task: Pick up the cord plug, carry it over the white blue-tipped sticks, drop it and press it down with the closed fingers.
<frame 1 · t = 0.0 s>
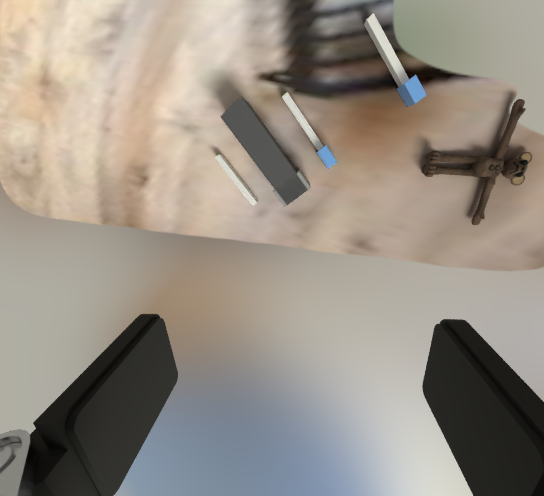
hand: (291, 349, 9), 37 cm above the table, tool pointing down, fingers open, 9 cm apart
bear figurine: (469, 165, 40), on the table
cord plug: (269, 153, 42), on the table
white blue-tipped sticks: (304, 124, 39), on the table
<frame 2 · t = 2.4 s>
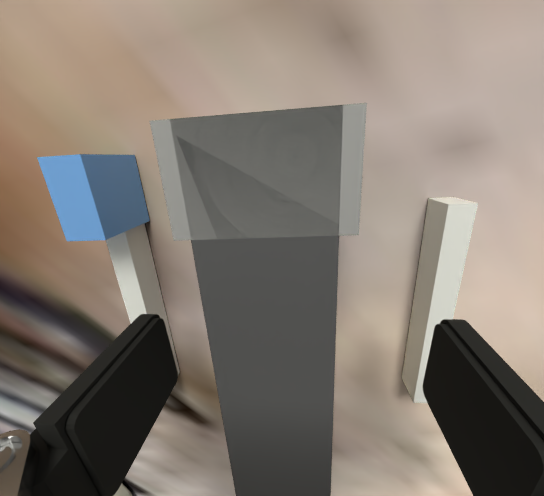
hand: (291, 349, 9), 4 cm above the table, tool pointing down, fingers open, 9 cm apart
cord plug: (281, 300, 13), on the table
white blue-tipped sticks: (154, 301, 14), on the table
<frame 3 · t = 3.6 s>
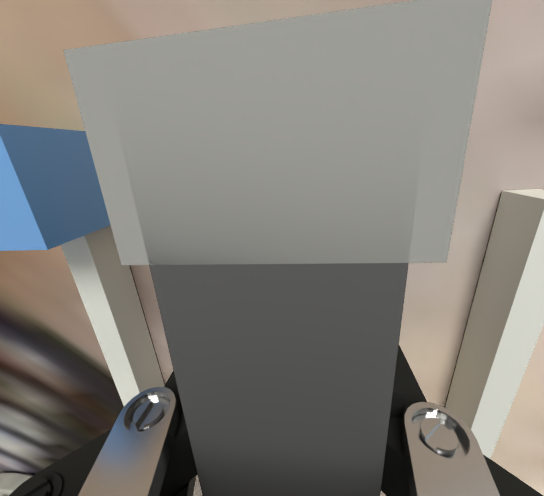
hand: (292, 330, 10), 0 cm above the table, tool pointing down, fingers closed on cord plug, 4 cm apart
cord plug: (293, 331, 10), on the table, touching gripper
white blue-tipped sticks: (134, 319, 11), on the table
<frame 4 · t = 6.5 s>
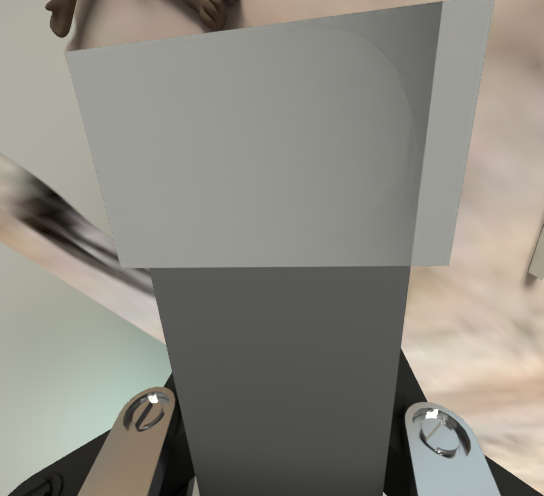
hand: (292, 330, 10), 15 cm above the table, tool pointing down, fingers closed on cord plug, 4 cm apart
cord plug: (293, 334, 10), point 15 cm above the table, touching gripper
white blue-tipped sticks: (376, 223, 22), on the table
when the fingers open (2 cm above the table, at t = 9.5 s): cord plug drops 2 cm, on the table.
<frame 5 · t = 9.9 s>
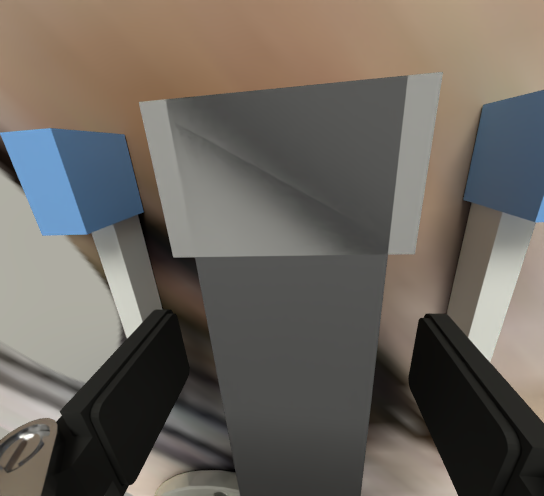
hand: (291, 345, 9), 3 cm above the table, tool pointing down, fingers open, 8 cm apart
cord plug: (297, 312, 12), on the table
white blue-tipped sticks: (461, 306, 10), on the table
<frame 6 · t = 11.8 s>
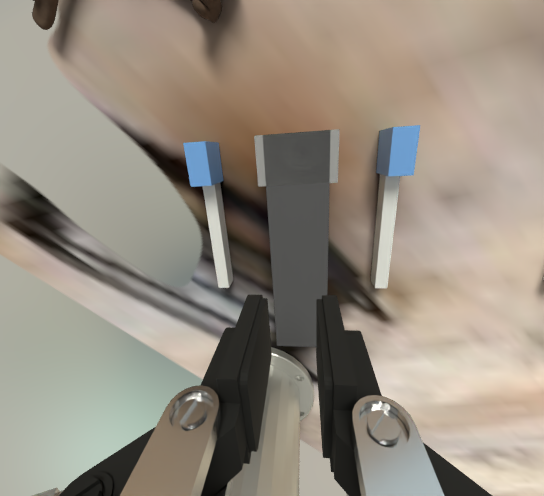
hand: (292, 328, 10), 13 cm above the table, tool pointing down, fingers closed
cord plug: (299, 234, 22), on the table
white blue-tipped sticks: (381, 227, 21), on the table
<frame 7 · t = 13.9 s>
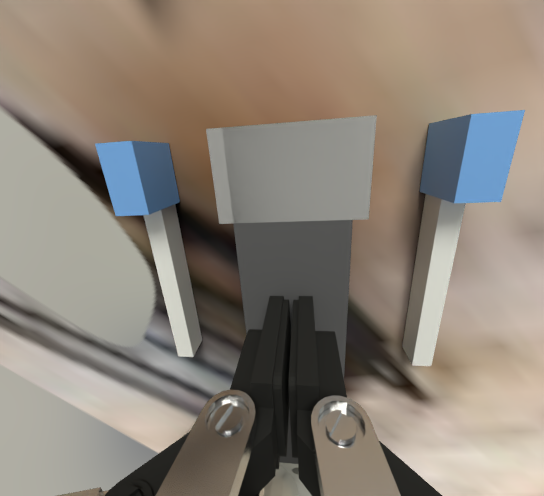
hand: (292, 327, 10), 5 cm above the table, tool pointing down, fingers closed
cord plug: (297, 281, 15), on the table, touching gripper
white blue-tipped sticks: (423, 274, 14), on the table
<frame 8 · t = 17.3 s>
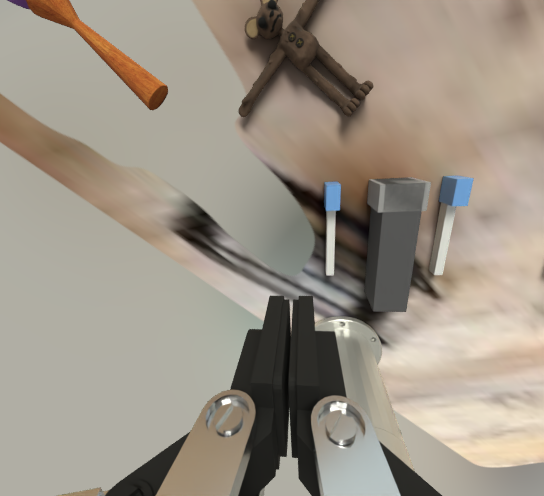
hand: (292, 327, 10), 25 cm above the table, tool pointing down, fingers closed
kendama: (97, 36, 29), on the table
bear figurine: (308, 61, 28), on the table
cord plug: (383, 239, 34), on the table
white blue-tipped sticks: (439, 235, 33), on the table
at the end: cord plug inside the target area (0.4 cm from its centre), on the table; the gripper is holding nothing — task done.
